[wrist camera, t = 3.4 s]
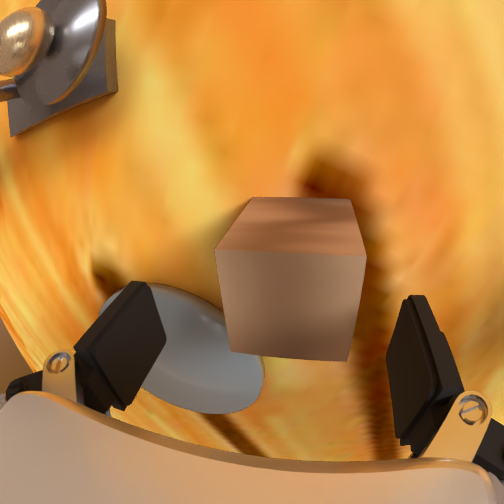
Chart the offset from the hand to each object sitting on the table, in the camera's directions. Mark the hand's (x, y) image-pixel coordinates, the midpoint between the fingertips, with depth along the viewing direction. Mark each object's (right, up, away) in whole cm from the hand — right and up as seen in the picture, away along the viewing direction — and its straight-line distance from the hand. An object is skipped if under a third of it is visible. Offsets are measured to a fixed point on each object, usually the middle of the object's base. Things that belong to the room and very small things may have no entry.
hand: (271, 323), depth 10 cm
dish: (-7, -6, +13) cm, 16 cm away
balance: (-14, +14, +3) cm, 21 cm away
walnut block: (+2, +3, +5) cm, 7 cm away
